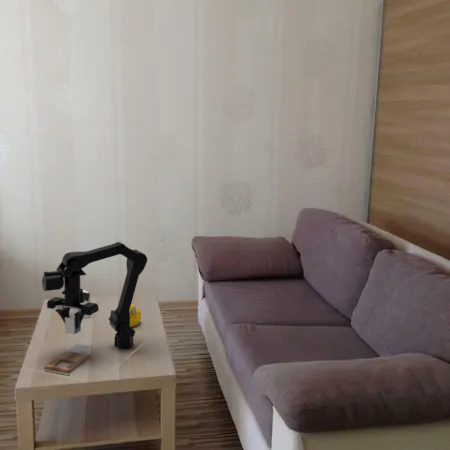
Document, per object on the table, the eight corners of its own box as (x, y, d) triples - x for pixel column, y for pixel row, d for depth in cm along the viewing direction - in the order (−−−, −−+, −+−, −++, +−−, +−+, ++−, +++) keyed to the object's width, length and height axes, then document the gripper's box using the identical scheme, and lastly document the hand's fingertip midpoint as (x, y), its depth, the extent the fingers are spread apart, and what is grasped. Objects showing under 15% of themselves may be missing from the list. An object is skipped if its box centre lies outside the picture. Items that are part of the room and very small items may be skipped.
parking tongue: (90, 348, 224) (90, 346, 223) (79, 356, 216) (79, 354, 216) (77, 346, 225) (77, 344, 225) (65, 354, 218) (65, 351, 218)
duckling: (128, 331, 241) (127, 309, 239) (117, 329, 244) (117, 306, 242) (144, 323, 251) (144, 301, 249) (134, 321, 254) (134, 299, 252)
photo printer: (92, 316, 258) (91, 290, 255) (85, 319, 254) (85, 292, 252) (75, 311, 263) (74, 285, 260) (68, 314, 259) (67, 288, 256)
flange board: (90, 360, 214) (89, 354, 213) (69, 376, 201) (69, 370, 200) (66, 355, 217) (66, 350, 216) (44, 371, 204) (44, 365, 203)
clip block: (80, 330, 214) (80, 315, 212) (74, 334, 210) (74, 318, 209) (71, 329, 215) (71, 313, 214) (65, 332, 211) (64, 317, 210)
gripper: (106, 284, 213) (106, 324, 217) (63, 278, 219) (64, 317, 223) (89, 293, 203) (90, 334, 206) (45, 286, 209) (46, 326, 212)
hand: (72, 327), depth 212 cm, fingers closed on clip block, 4 cm apart
